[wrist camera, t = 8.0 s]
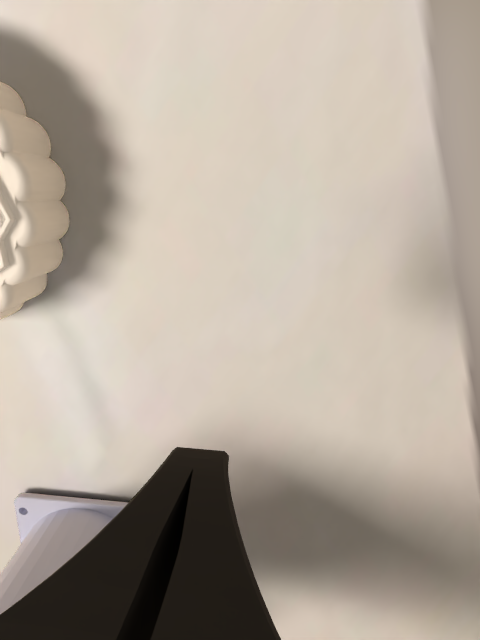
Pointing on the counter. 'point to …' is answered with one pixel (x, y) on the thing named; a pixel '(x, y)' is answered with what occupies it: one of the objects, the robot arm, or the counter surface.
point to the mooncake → (27, 205)
